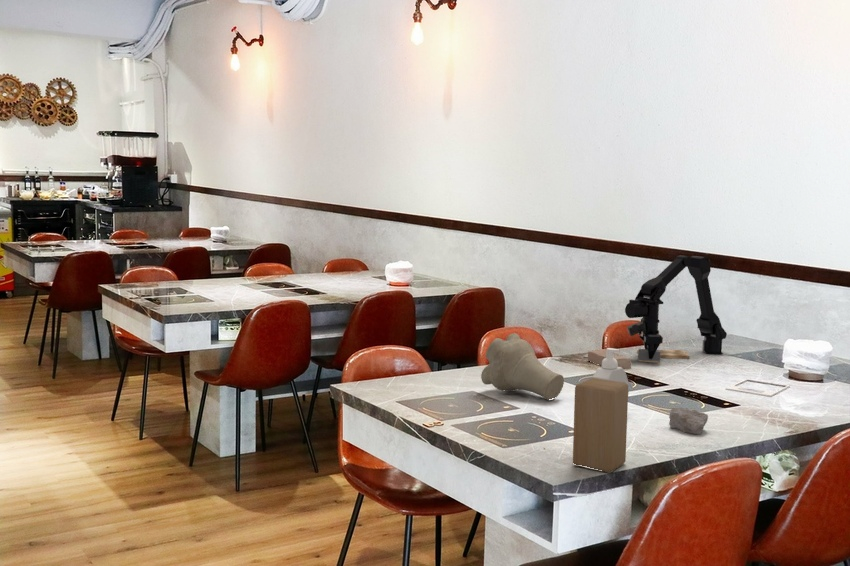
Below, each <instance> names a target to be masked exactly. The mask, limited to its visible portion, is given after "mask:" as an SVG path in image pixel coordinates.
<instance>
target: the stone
mask: <svg viewBox="0 0 850 566" xmlns="http://www.w3.org/2000/svg"><path fill="white" fill-rule="evenodd" d="M668 418H669V423H668V424H669V427H670V428H672V429H676V430H680V431H681V432H684V433H686V434H691V435H692V434H693V435H701V433H702V432H703V430H704V428H705V426H706V424H707V422H708V419H709V415H708V414H707V413H705V412H699V411H698V410H696V409H689V408H683V407H678V408H676V407H673V408H671V409H670V412H669V416H668Z"/></svg>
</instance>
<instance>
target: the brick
mask: <svg viewBox="0 0 850 566" xmlns="http://www.w3.org/2000/svg"><path fill="white" fill-rule="evenodd" d="M606 352H607V348H606V349H605V348H604V349H603V348H600V349H599V348H598V349H595V350H588V351H587V362H588V361H591V362H594V363H596V364H599V365H601V366H600V367H602V361H603V359H604V358H606ZM614 359H616V360H617V362H618V367H622V368H623V370H630V368H631V369H632V357H628V356H626V355H622V354H620V355H619V354H617V352H614ZM596 364H595V365H596ZM599 365H598V366H599Z"/></svg>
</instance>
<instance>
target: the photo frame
mask: <svg viewBox="0 0 850 566" xmlns="http://www.w3.org/2000/svg"><path fill="white" fill-rule="evenodd" d="M746 382H754V383H760V384H767V385H773V386H779V387H780V386H781V389H778V390H777V391H769V390H763V389H755V388H749V387H744V386H739V385H742V384H744V383H746ZM789 388H791V386H790V385H788V384H782V383H776V382H775V383H773V382H768V381H762V380H755V379H751V378H750V379H748V378H745V379H743V380H741V381H739V382H736V383H734V384H732V385H729V386H727V387H725V391H732V392H738V393H745V394H749V395H755V396H762V397H767V398H772V397H774V396H776V395H778V394H780V393H782V392H783V391H785V390H788V389H789Z"/></svg>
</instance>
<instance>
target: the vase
mask: <svg viewBox="0 0 850 566" xmlns="http://www.w3.org/2000/svg"><path fill="white" fill-rule="evenodd" d="M485 359H486V360H488V362H489V363H488V364H487V365H486V366H485V367H484V368H483V369H482V371H481V375H480V379H481V381H482V383H483V384H484V385H492V386H493V387H494V388H495V389H497V390H499V391H503V390H505V391H504V392H512V391H513V390H514V391H526V392H531V393H532V394H536V395H538V396H540V397H542V398H543V399H545V400H547V401H548V400H549V399H552V398H555V397H556V398H557V397H558V396H559V395H560V394H561V391H562V390H563V388H564V385H565V378H564V376H563V375H562V374H561V373H560V374H559V373H558V372H555V371H553V370H552V369H550V368H548V367H546V365H544V364H542V363H541V361H539V360H538V358H537V356H536V353H535V350H534V348H533V347H532V345H531V344H530V343H529V342H528V341H527V340H525V339H522V338H521V337H520V335H519V334H518V333H515V332H514V333H510V334H509V335H508V336H507V337H506V338H505V340H504V339H502V338H499V337H495V338H494V339H493V340H492V341H491V343H490V344H489V345H488V347H487V349H486V352H485Z"/></svg>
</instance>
